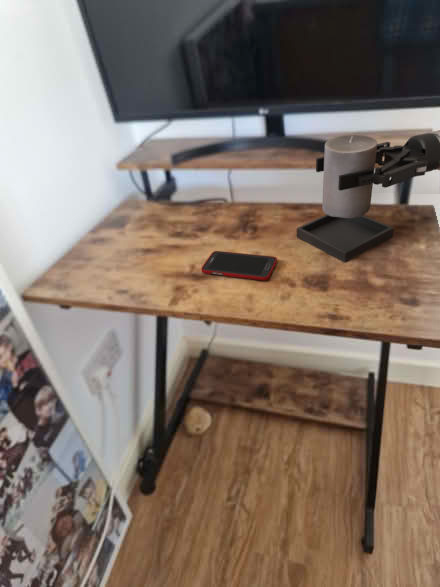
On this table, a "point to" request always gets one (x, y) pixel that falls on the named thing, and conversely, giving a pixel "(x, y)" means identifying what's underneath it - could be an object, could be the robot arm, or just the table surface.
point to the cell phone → (240, 265)
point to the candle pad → (344, 235)
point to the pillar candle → (342, 160)
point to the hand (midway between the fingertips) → (327, 173)
